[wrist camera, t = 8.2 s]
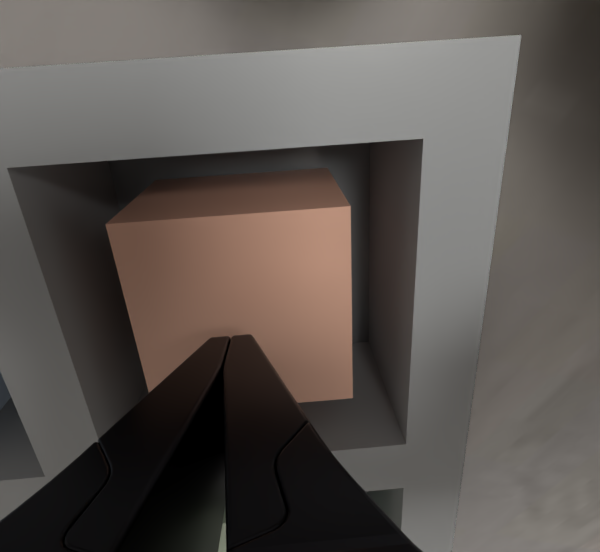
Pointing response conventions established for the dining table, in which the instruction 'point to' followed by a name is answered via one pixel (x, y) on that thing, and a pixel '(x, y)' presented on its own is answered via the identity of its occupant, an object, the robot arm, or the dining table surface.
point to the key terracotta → (242, 273)
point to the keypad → (254, 159)
